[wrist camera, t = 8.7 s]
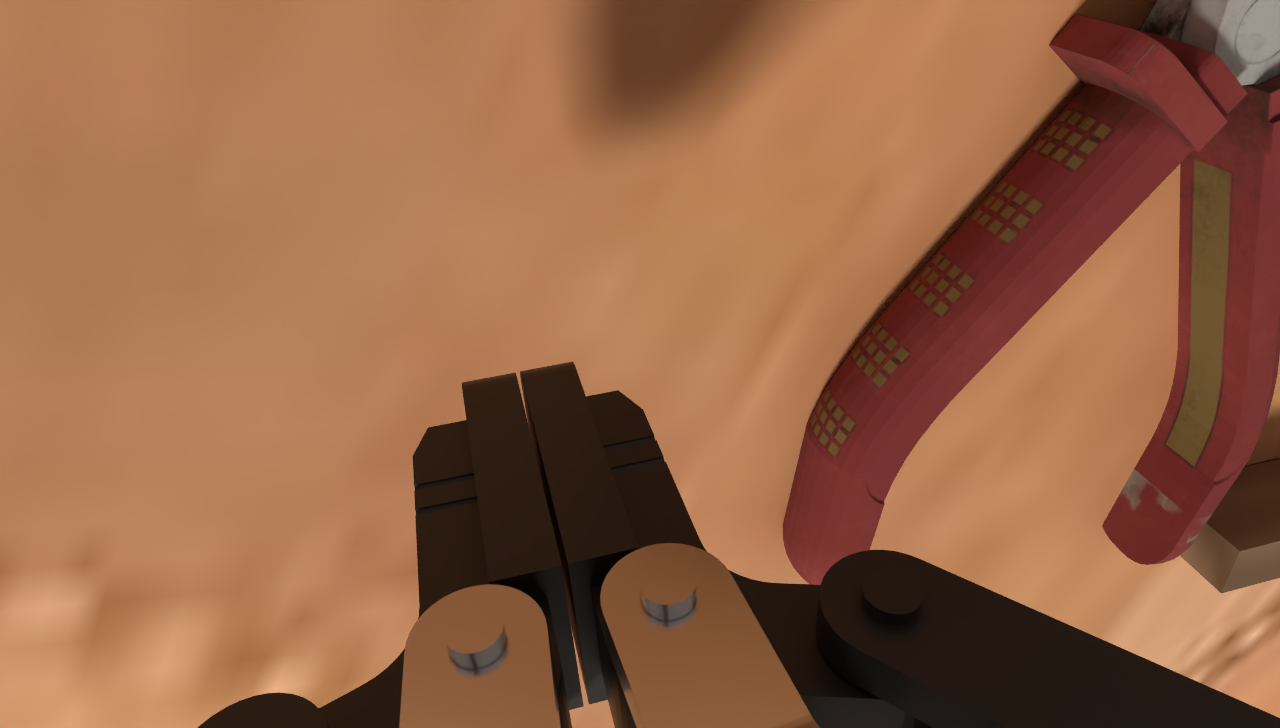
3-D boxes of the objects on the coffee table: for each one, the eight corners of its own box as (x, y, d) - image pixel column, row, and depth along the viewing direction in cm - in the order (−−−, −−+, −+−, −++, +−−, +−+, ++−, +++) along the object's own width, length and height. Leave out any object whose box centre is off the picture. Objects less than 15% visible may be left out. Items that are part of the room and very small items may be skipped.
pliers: (1646, -413, 14) (1874, -459, 12) (1125, 516, 24) (1196, 583, 22) (1075, -632, 11) (1241, -748, 9) (754, 539, 21) (793, 620, 19)
